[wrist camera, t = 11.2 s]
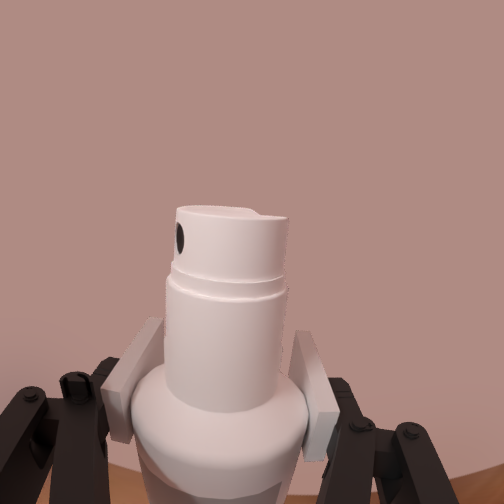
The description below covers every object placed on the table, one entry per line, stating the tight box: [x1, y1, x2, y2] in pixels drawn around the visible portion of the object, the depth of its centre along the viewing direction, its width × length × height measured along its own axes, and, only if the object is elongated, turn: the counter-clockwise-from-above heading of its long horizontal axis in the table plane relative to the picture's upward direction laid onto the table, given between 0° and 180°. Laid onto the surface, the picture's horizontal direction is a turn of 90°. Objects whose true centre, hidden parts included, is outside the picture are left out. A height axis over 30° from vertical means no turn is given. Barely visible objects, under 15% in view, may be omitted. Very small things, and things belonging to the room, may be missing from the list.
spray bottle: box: [131, 205, 309, 504], centre depth 12 cm, size 7×7×18 cm
